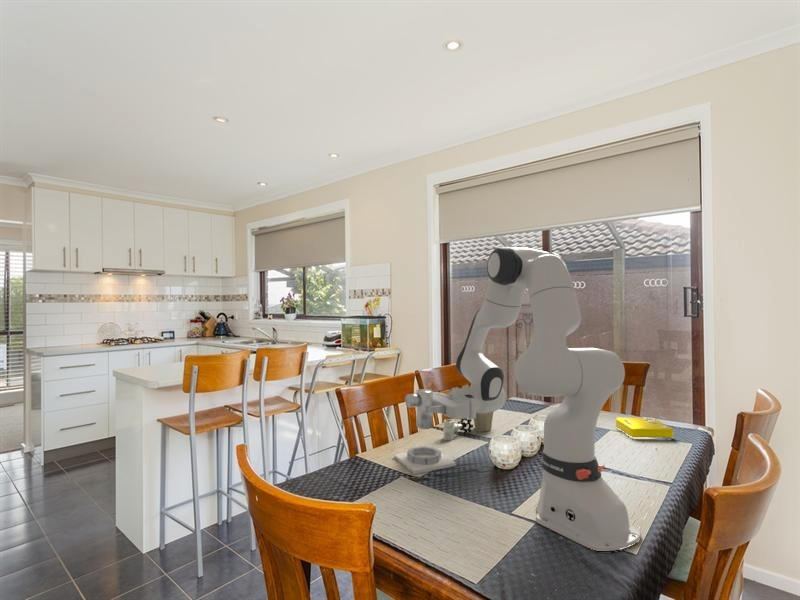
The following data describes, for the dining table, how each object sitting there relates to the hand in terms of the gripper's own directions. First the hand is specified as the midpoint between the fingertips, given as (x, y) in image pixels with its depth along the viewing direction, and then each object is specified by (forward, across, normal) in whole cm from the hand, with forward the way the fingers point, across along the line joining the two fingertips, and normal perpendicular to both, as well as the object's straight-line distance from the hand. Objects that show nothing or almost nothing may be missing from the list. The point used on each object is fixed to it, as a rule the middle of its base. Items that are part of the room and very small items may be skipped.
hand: (422, 407), depth 134 cm
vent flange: (-1, 0, +17) cm, 17 cm away
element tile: (-88, +11, +18) cm, 90 cm away
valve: (-23, -16, +17) cm, 33 cm away
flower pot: (-37, -19, +17) cm, 45 cm away
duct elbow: (+1, 0, +6) cm, 6 cm away
